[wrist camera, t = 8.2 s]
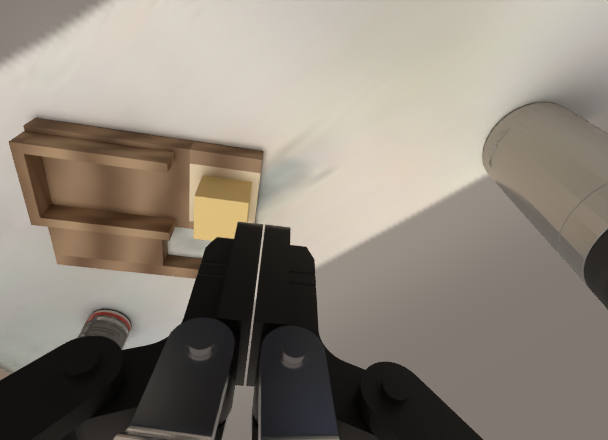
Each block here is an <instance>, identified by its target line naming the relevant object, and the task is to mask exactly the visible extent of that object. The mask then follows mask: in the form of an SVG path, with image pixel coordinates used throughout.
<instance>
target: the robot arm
mask: <svg viewBox="0 0 608 440" xmlns="http://www.w3.org/2000/svg"><path fill="white" fill-rule="evenodd" d="M483 164H484V167H485V169H486V172H487V173H488V174H489V175H490V177H491V178H492V179H493V180H494V181H495V182H496V183H497V185H498V186H499V187H500V188H501V189H502V190H503V191H504V193H505V194H506V195H507V196H508V197H509V198H510V200H511V201H512V202H513V203H514V204H515V205H516V206H517V207H518V209H519V210H520V211H521V212H522V213H523V214H524V215H525V216H526V218H527V219H528V220H529V221H530V222H531V223H532V224H533V225H534V227H535V228H536V229H537V230H538V231H539V232H540V233H541V235H542V236H543V237H544V238H545V239H546V240H547V241H548V243H549V244H550V245H551V246H552V247H553V248H554V249H555V250H556V252H557V253H558V254H559V255H560V256H561V257H562V258H563V259H564V260H565V262H566V263H567V264H568V265H569V266H570V267H571V268H572V269H573V271H574V272H575V273H576V274H577V275H578V276H579V277H580V278H581V280H582V281H583V282H584V283H585V284H586V285H587V286H588V287H589V288H590V290H591V291H592V292H593V293H594V294H595V295H596V296H597V297H598V299H599V300H600V301H601V302H602V303H603V304H604V305H605V307H606V308H607V309H608V133H607V132H605V131H603V130H601V129H600V128H598V127H596V126H594V125H593V124H591V123H589V122H588V121H586V120H584V119H583V118H581V117H579V116H577V115H576V114H574V113H572V112H570V111H569V110H567V109H565V108H563V107H561V106H559V105H557V104H553V103H548V102H542V103H534V104H529V105H526V106H524V107H521V108H519V109H517V110H515V111H513V112H512V113H510V114H509V115H507V116H506V117H505V118H504V119H503V120H501V121H500V122H499V123H498V124H497V126H496V127H495V128H494V129H493V130H492V132H491V133H490V135H489V137H488V139H487V141H486V144H485V146H484V150H483ZM262 230H263V224H255V223H247V222H238V223H237V227H236V232H235V236H234V239H231V238H222V237H216V238H215V239H214V240H213V241H212V242H211V243H210V244H209V245H208V246H207V247H206V248H205V251H204V255H203V258H202V261H201V264H200V268H199V271H198V275H197V277H196V280H195V284H194V287H193V290H192V293H191V296H190V300H189V303H188V306H187V309H186V312H185V316H184V319H183V321H182V323H181V324H180V325H178V326H177V327H176V328H175V329H174V330H173V331H172V332H171V333H170V335H169V336H168V337H167V338H165V339H163V340H161V341H159V342H157V343H154V344H150V345H146V346H141V347H136V348H130V349H125V350H121V348H120V346H119V345H118V344H117V343H116V342H115V341H113V340H111V339H109V338H107V337H103V336H84V337H80V338H76V339H74V340H71V341H69V342H67V343H65V344H63V345H61V346H59V347H58V348H56V349H54V350H52V351H51V352H49V353H47V354H45V355H44V356H42V357H40V358H38V359H37V360H35V361H33V362H32V363H30V364H28V365H26V366H25V367H23V368H21V369H19V370H18V371H16V372H14V373H12V374H11V375H9V376H7V377H6V378H4V379H2V380H0V440H223V439H224V434H225V429H226V425H227V421H228V415H229V413H230V411H231V408H232V403H233V396H234V389H235V385H241V386H243V385H244V377H245V368H246V361H247V353H248V345H249V337H250V329H251V321H252V313H253V305H254V297H255V288H256V280H257V272H258V264H259V255H260V247H261V238H262ZM315 286H316V280H315V263H314V258H313V257H312V255H311V253H310V252H309V250H308V249H307V247H302V246H294V245H290V227H281V226H273V225H265V232H264V240H263V248H262V257H261V265H260V273H259V281H258V290H257V298H256V307H255V315H254V324H253V332H252V341H251V350H250V358H249V366H248V375H247V384H246V385H247V386H255V388H254V397H253V407H252V414H251V426H250V440H483V439H482V438H481V437H480V436H479V435H478V434H477V433H476V432H475V431H474V430H472V428H470V427H469V426H468V425H467V424H466V423H465V422H464V421H463V420H462V419H461V418H460V417H459V416H458V415H457V414H456V413H455V412H454V411H452V409H450V407H448V406H447V405H446V404H445V403H444V402H443V401H442V400H441V399H440V398H439V397H438V396H437V395H436V394H435V393H434V392H433V391H432V390H431V389H430V388H428V387H427V386H426V385H425V384H424V383H423V382H422V381H421V380H420V379H419V378H418V377H417V376H416V375H415V374H414V373H412V372H411V371H410V370H408V369H407V368H405V367H403V366H401V365H399V364H396V363H392V362H378V363H375V364H373V365H371V366H369V367H368V368H367V369H366V370H364V369H362V368H359V367H357V366H354V365H352V364H349V363H346V362H344V361H342V360H340V359H338V358H337V357H335V356H334V355H333V354H331V353H330V352H329V351H328V350H327V348H326V347H325V346H324V345H323V343H322V341H321V339H320V336H319V332H318V316H317V297H316V287H315Z"/></svg>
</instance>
